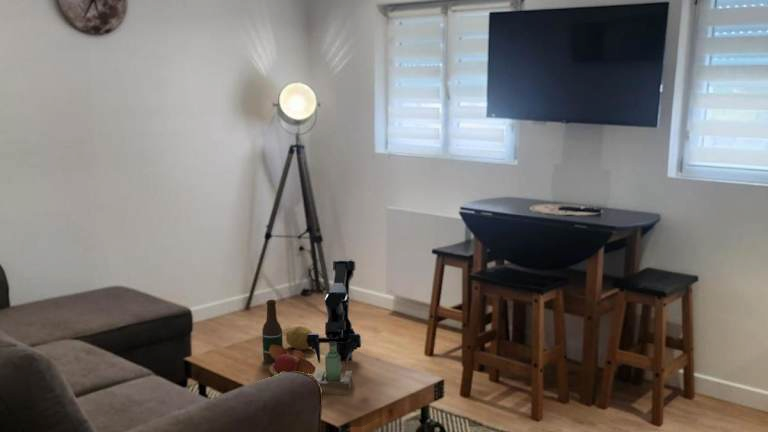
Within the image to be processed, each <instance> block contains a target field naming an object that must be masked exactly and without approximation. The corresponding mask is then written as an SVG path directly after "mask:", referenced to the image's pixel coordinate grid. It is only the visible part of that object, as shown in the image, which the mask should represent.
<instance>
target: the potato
mask: <svg viewBox="0 0 768 432" xmlns="http://www.w3.org/2000/svg"><path fill="white" fill-rule="evenodd" d="M309 333H313V332H312V330H310V329H309V328H308V327H305V326H302V325H298V326H294V327H292V328H289V330H287V332H286V335H285V341H286V343H287V344H288V346H290V347H291V348H293V349H294V350H298V351H304V350H307V349H310V348H311V347H308V344H307V340H306V339H307V335H308V334H309Z"/></svg>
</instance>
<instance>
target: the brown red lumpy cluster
mask: <svg viewBox="0 0 768 432" xmlns="http://www.w3.org/2000/svg"><path fill="white" fill-rule="evenodd" d="M269 352H270V355H271V356H272V357H273V358H274V359H275V363H274V364H272V369H273V370H274V372H275V373H277V374H278V375H279V373H280V372H282V371H296V372H298V371H300V372H304V373H306V374H308V373H309V374H312V375H313V374H314V373H315V371H316V366H315V365H314V364H313V363H312V362H311V361H309V359H305V357H306V354H305V353H303V350H298V349H294V350H292V355H291V354H289V353H288V350H287V348H284V346H283V347H282V346H280V345H276V344H272V345H271V346H270V348H269Z"/></svg>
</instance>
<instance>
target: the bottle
mask: <svg viewBox="0 0 768 432" xmlns="http://www.w3.org/2000/svg"><path fill="white" fill-rule="evenodd" d="M328 345H329V351H328V352H327V354H326V355H325V358H324V359H325V360H324V361H325V362H324V363H325V379H326V381H341V379H342V377H341V375H342V373H341V371H342V370H341V360H340V355H338V352H336V342H335V341H330V342H329V343H328Z"/></svg>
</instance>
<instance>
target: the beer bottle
mask: <svg viewBox="0 0 768 432" xmlns="http://www.w3.org/2000/svg"><path fill="white" fill-rule="evenodd" d="M276 304H277V302H276V300H274V299H268V300H267V301H266V319H265V322H264V324H263V327H262V330H261V333H262V353H263V354H262V357H263V362H264V363H265V364H268V365H274V364H273V363H275V359H274V358H273V357H272V356H271V355H270V352H269V348H270V346H271V345H272V344H276V345H280V346H282V347H284V346H283V343H284V342H283V331H282V330H283V329H282V327H281V324H280V322H279V321H278V317H277V309H276V307H277V306H276Z"/></svg>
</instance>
